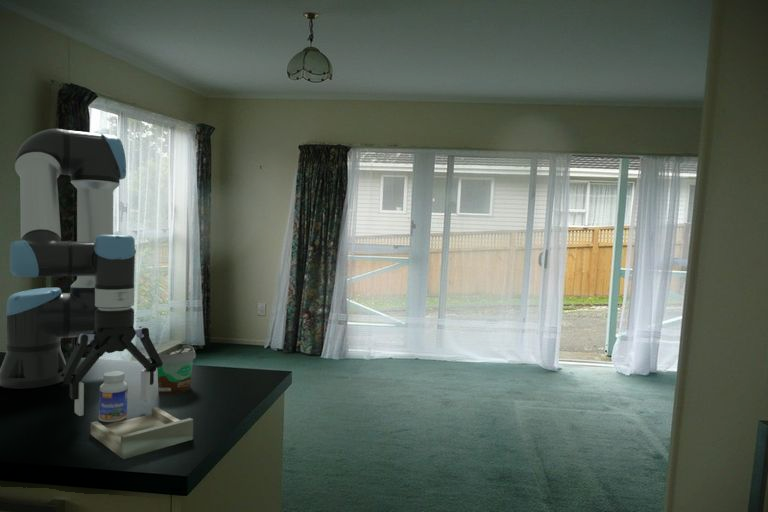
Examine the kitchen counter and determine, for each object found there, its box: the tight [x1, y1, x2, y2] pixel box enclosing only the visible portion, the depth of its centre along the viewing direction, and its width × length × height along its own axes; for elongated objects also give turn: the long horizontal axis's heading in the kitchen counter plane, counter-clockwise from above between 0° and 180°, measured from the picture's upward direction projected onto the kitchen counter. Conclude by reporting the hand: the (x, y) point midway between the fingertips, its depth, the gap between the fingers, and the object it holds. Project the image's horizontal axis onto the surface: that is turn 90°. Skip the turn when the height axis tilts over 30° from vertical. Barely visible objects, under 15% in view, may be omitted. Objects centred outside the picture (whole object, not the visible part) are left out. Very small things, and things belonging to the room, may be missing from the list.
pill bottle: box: [98, 370, 129, 423], centre depth 117 cm, size 5×5×10 cm
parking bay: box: [90, 407, 194, 460], centre depth 108 cm, size 15×13×4 cm
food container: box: [156, 344, 197, 395], centre depth 137 cm, size 12×6×10 cm, turn 168°
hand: (113, 406), depth 117 cm, fingers open, 13 cm apart
